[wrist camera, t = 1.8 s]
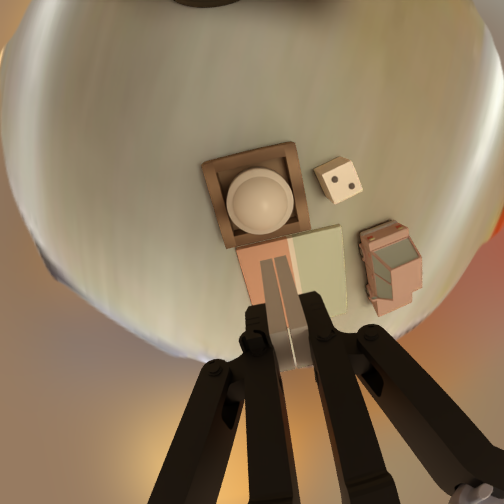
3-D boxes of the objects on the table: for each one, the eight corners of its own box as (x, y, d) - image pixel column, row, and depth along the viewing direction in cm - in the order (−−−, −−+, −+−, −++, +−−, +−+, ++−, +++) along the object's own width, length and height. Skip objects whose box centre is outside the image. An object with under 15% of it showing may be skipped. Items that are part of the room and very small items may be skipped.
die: (313, 169, 36) (322, 175, 32) (339, 156, 35) (352, 161, 31) (325, 195, 38) (336, 205, 34) (351, 183, 37) (364, 191, 33)
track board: (236, 247, 41) (236, 250, 40) (339, 224, 40) (341, 226, 39) (260, 329, 48) (261, 333, 48) (345, 309, 47) (347, 312, 46)
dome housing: (204, 161, 35) (201, 164, 33) (290, 141, 34) (295, 142, 32) (227, 240, 40) (226, 248, 38) (306, 221, 40) (311, 229, 37)
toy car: (362, 303, 47) (383, 340, 38) (348, 232, 41) (375, 262, 32) (404, 285, 46) (430, 317, 37) (398, 213, 40) (432, 238, 31)
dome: (221, 174, 34) (216, 185, 28) (282, 160, 33) (290, 167, 27) (236, 230, 37) (235, 251, 31) (293, 217, 37) (303, 236, 31)
